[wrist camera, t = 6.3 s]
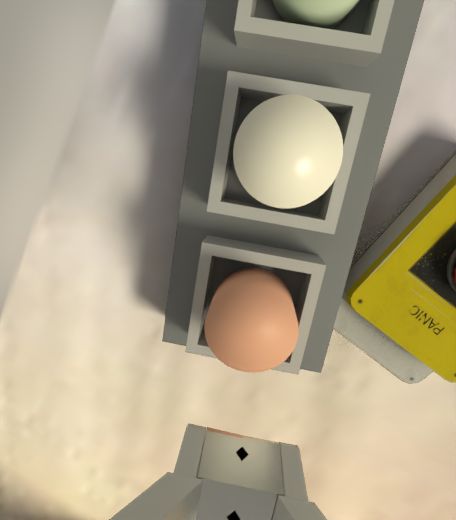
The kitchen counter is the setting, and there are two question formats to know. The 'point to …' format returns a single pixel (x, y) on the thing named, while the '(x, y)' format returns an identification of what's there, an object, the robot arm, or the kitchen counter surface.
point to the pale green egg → (315, 11)
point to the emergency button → (408, 287)
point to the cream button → (288, 151)
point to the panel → (253, 211)
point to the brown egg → (251, 321)
